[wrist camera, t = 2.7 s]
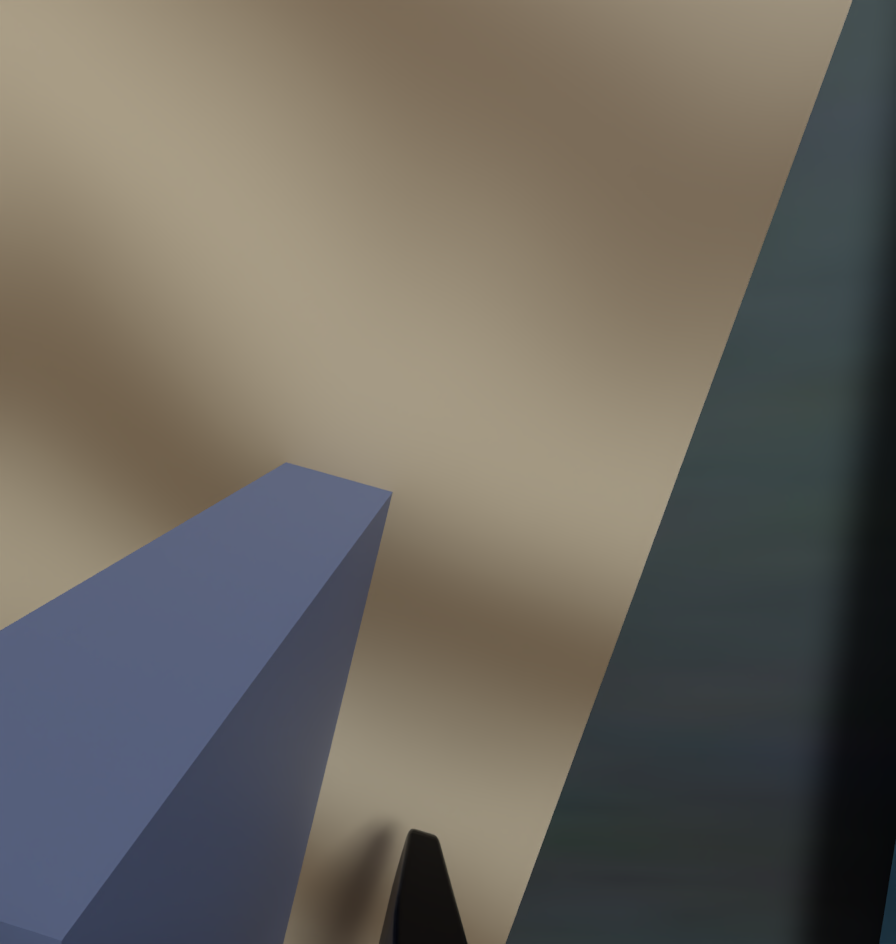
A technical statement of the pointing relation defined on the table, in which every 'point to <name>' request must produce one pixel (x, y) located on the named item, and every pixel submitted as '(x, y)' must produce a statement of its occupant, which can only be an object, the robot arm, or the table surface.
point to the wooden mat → (391, 344)
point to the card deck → (183, 721)
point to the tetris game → (890, 908)
